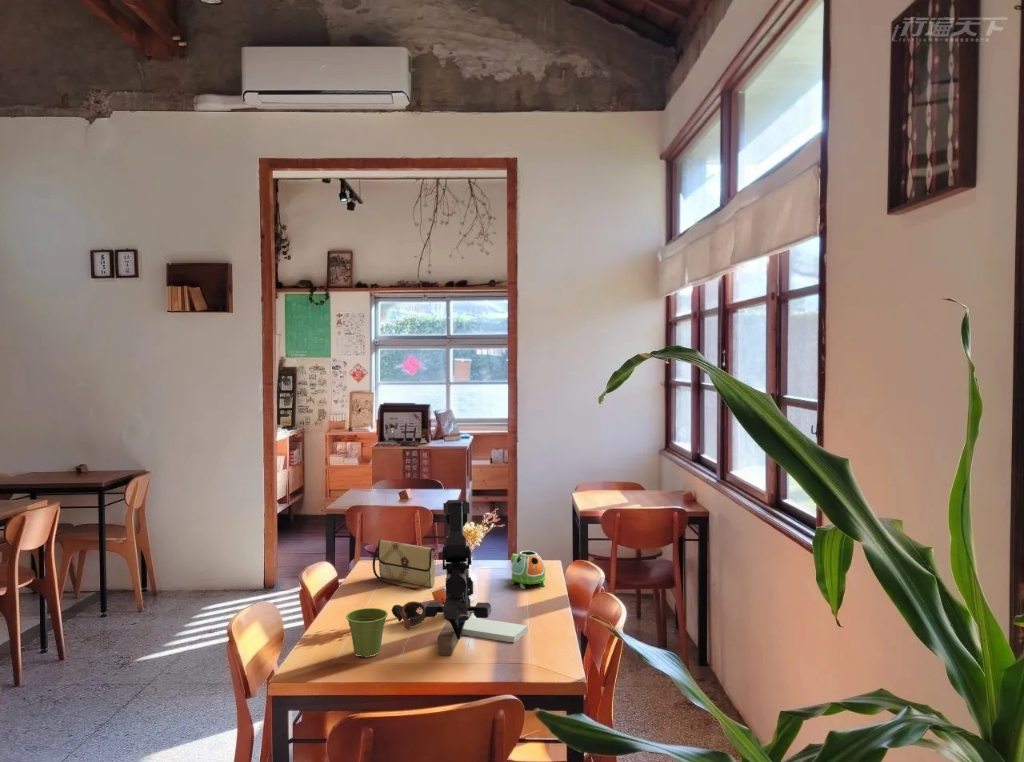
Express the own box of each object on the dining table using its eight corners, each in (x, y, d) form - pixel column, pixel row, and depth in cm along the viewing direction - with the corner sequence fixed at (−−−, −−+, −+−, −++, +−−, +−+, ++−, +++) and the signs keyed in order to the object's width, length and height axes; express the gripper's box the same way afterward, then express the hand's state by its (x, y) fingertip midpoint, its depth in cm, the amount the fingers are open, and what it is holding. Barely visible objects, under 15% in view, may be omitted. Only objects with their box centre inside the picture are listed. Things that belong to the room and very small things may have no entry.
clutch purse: (368, 580, 283) (367, 542, 282) (381, 576, 288) (380, 538, 288) (428, 593, 266) (427, 552, 266) (440, 587, 272) (439, 547, 272)
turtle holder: (527, 574, 287) (527, 544, 287) (552, 586, 271) (551, 554, 271) (499, 579, 281) (499, 548, 281) (523, 592, 265) (522, 559, 265)
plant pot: (368, 664, 203) (368, 624, 203) (338, 656, 209) (337, 617, 209) (397, 650, 213) (396, 611, 213) (366, 642, 219) (366, 605, 219)
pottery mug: (429, 620, 239) (431, 602, 235) (419, 642, 231) (421, 624, 227) (395, 609, 241) (396, 592, 237) (384, 631, 233) (385, 613, 229)
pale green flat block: (455, 633, 226) (455, 627, 225) (470, 622, 235) (470, 617, 235) (514, 642, 217) (514, 636, 217) (527, 631, 226) (527, 625, 226)
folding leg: (448, 634, 224) (448, 617, 224) (461, 634, 224) (461, 617, 224) (437, 654, 209) (437, 636, 208) (451, 655, 208) (451, 636, 208)
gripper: (417, 593, 206) (419, 649, 206) (482, 594, 203) (485, 650, 203) (428, 582, 217) (430, 634, 217) (490, 582, 214) (492, 636, 214)
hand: (458, 639), depth 212 cm, fingers closed
